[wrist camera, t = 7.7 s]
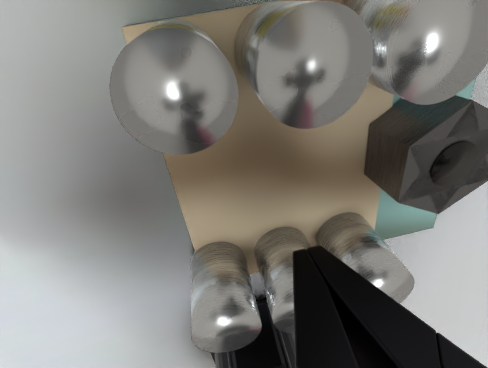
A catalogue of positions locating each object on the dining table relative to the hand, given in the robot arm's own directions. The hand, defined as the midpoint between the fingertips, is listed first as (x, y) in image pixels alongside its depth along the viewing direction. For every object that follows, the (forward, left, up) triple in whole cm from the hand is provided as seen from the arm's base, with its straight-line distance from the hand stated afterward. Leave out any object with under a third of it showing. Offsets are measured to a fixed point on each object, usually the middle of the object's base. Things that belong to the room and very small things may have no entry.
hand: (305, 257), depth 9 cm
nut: (0, -7, -6) cm, 9 cm away
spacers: (0, -1, -5) cm, 6 cm away
